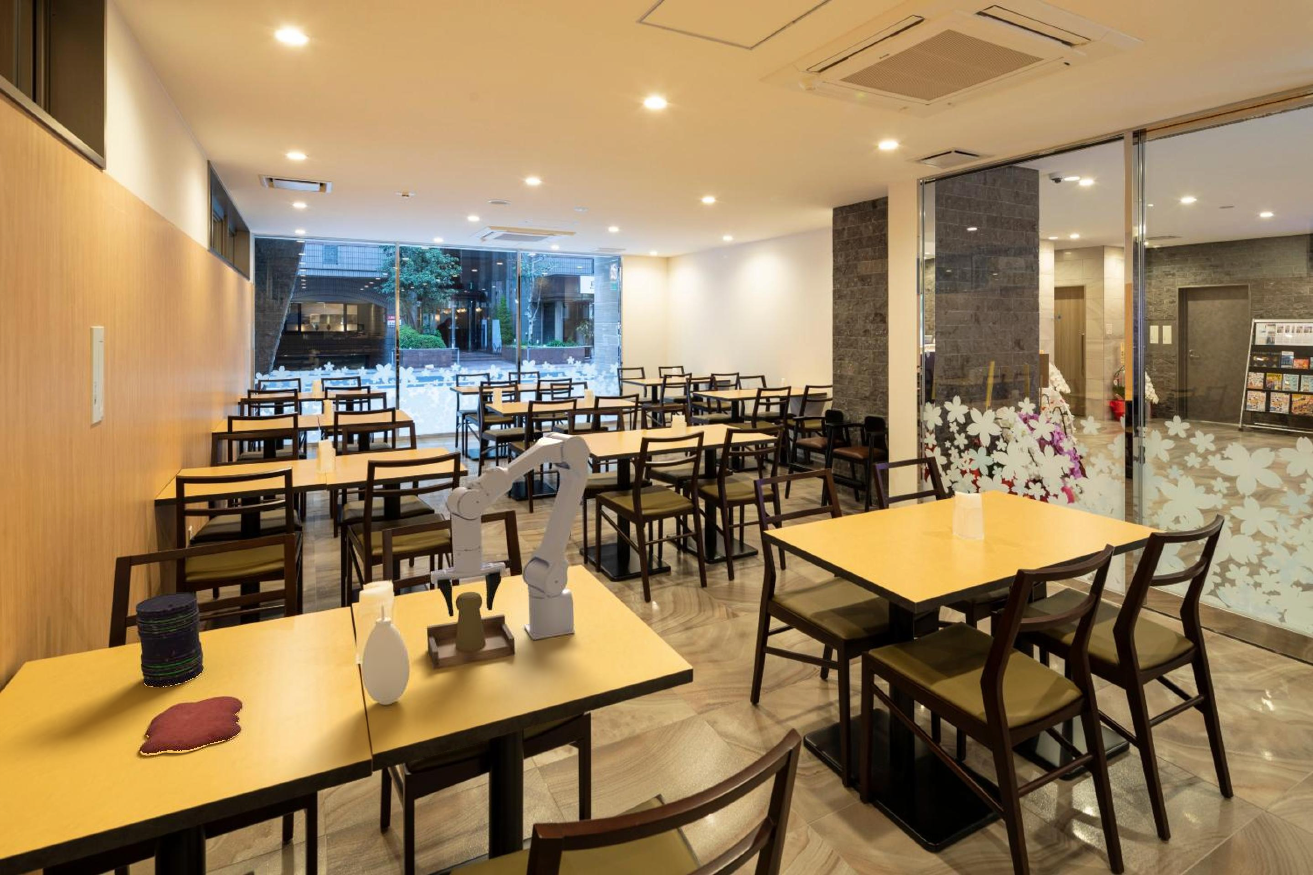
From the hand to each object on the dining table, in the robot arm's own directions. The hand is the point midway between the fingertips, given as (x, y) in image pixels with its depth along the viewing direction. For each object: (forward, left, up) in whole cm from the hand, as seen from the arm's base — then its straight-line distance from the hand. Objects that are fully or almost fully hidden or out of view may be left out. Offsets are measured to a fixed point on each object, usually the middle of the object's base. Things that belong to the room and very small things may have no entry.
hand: (470, 611), depth 144 cm
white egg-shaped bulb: (+17, +14, -9) cm, 24 cm away
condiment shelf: (0, -1, -9) cm, 9 cm away
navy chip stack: (+54, -14, -9) cm, 57 cm away
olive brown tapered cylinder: (0, +1, -7) cm, 7 cm away
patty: (+47, +9, -10) cm, 49 cm away
